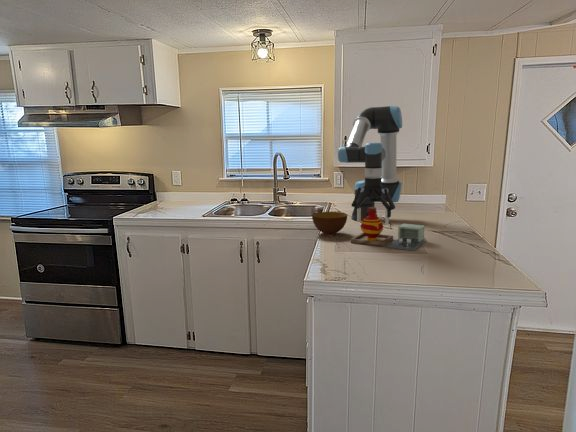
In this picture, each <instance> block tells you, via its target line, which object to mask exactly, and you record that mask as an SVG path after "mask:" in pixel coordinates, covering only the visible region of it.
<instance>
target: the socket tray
mask: <svg viewBox="0 0 576 432" xmlns="http://www.w3.org/2000/svg"><path fill="white" fill-rule="evenodd" d="M367 238H368V237H367V236H366V235H365V234H364V232H362V233H360V234H358V235H356V236H354V237H352V238H351V239H350V243H351V244H356V245H357V244H358V245H365V246H375V247H382V248H383V247H384V246H386V245H387V244H388V243H390V242H392V240H394V235H391V234H381V233H380V235H379V236H378V237H376V238H377V239H378V240H376V241H368V240H366V239H367Z"/></svg>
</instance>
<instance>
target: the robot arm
mask: <svg viewBox="0 0 576 432" xmlns="http://www.w3.org/2000/svg"><path fill="white" fill-rule="evenodd" d="M402 117H403V116H402V111H401V108H400V107H399V106H398V105H397V106H396V105H395V106H394V105H390V106H373V107H372V106H371V107H369V108H365V109H363V110H362V111H360V113H358V114H357V115H356V116H355V118H354V119H353V121H352V129H351V132H350V135H349V137H348V139H347V142H346V145H345V146H341V147H339V148H338V151H337V159H338V161H339V162H340V163H345V164H348V163H349V164H353V163H354V164H355V163H364V177H365V178H364V179H363V180H360V181H359V180H358V181H357V182H355V184H354V199H353V201H352V203H351V208H352V207H353V210H352V214H351V220H353V221H356V222H357V223H361V221H362V220H363V219H364V218H366V217H367V216H369V213H368V212H367V210H368V208H369V207H375V208H376V206H375V205H376V204H375V203H381V204H382V206H383V207H385V209H386V210H385V211H384V212H385V218H384V219H385V220H384V221H385V222H384V225H385V226H388V225H389V223H390V218H391V217H392V210H395V209H396V206H395V203H398V202H399V201H400V197H401V193H402V192H401V191H402V187H403V186H402V184H403V182H401V181H400V178H399V177H398V176H397V135H398V134H399V133H400V129H402V128H403V118H402ZM370 130H377V134H379V135H380V138H379V139H380V142H368V143H367V142H366V143H365V145H364V140H365V138H366V135H367V132H369V131H370ZM363 145H364V146H363ZM375 216H377V217H378V212H376V213H375Z"/></svg>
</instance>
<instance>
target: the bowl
mask: <svg viewBox="0 0 576 432" xmlns="http://www.w3.org/2000/svg"><path fill="white" fill-rule="evenodd" d="M311 218H312V222H313V224H314V226H315V228H316V229H317V230H318V231H319V232H321V233H323V235H324V234H325V235H324V236H327V235H332V236H336V235H337V233H338V232H339V233H340V232H341V231H342V229H343V228H344V227H345V226H346V223H347V220H348V214H347V213H345V212H340V211H339V212H338V211H323V212H322V211H320V212H314V213H313V214H311ZM335 234H336V235H335Z"/></svg>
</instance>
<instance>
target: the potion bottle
mask: <svg viewBox="0 0 576 432" xmlns="http://www.w3.org/2000/svg"><path fill="white" fill-rule="evenodd" d="M367 212H368V213H369V216H367V217H366V218H364V219H363V220H362V221H360V223H361V224H360V226H359V227H360V230H361V231H362V233H364V234H365V235H366V236H367V237H368V238H367V239H366V240H368V241H376V240H378V239H377V238H376V237H378V236H379V235H380V234H381V233H382V232H383V230H384V224H383V220H381V218H380V217H379V216H378V215H377V216H375V213H376V212H377V207H376V206H375V207H369V208H368V210H367ZM377 213H378V212H377Z"/></svg>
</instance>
